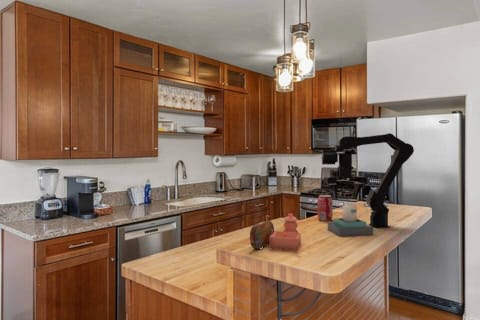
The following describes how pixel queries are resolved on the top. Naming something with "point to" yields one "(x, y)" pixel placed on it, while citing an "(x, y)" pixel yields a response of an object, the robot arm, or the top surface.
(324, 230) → the top surface
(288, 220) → the pottery
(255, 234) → the brown rounded slab
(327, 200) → the soda can
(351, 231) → the teal-collared square flange
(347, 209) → the grey rounded block
